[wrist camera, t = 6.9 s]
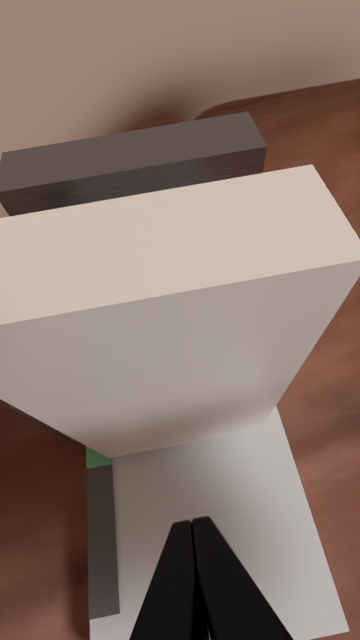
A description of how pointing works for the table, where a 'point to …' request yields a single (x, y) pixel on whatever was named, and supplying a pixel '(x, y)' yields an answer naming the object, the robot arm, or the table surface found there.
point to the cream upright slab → (170, 308)
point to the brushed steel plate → (130, 163)
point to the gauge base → (226, 512)
